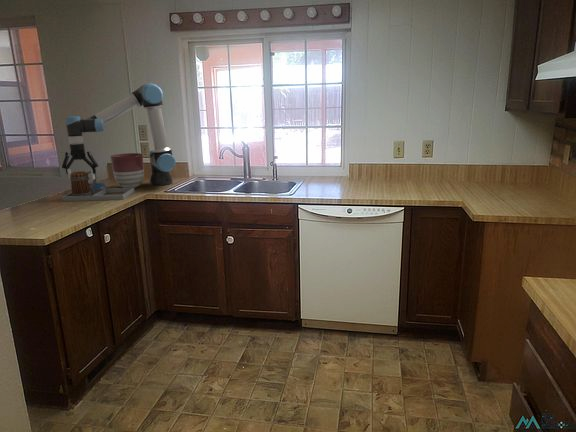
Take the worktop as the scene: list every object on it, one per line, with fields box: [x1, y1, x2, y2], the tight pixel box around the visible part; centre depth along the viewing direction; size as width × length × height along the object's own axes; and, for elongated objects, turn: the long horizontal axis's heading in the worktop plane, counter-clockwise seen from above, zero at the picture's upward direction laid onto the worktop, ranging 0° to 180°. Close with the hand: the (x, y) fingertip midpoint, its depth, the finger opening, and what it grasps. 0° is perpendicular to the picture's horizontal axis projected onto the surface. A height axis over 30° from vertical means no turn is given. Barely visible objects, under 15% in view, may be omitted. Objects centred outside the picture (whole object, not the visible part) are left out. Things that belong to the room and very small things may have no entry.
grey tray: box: [60, 182, 135, 202], centre depth 255 cm, size 35×22×6 cm, turn 92°
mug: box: [70, 170, 97, 196], centre depth 254 cm, size 16×11×15 cm
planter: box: [110, 152, 145, 189], centre depth 275 cm, size 20×20×21 cm
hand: (82, 179), depth 253 cm, fingers open, 13 cm apart
